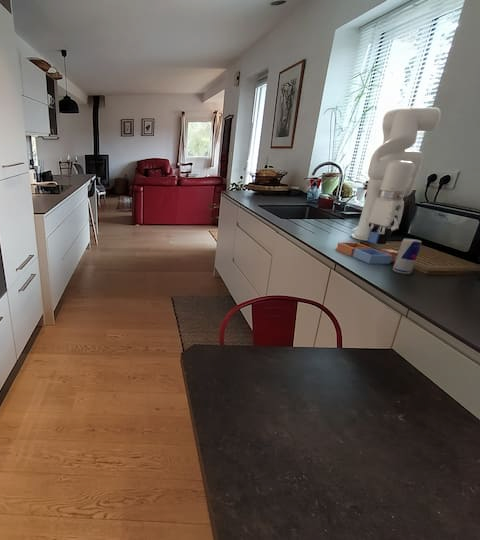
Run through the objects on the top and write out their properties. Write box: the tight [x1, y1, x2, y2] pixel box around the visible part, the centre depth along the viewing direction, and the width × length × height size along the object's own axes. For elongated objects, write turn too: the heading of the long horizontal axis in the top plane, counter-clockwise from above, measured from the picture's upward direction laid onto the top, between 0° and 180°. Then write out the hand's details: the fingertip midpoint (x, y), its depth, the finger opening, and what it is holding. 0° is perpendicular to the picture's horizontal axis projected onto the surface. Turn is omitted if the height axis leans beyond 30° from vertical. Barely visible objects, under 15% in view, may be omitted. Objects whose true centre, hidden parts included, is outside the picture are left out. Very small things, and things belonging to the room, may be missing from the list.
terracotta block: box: [381, 248, 399, 263], centre depth 132 cm, size 4×4×4 cm
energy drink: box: [392, 237, 423, 275], centre depth 117 cm, size 5×5×12 cm
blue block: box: [367, 231, 382, 245], centre depth 128 cm, size 4×4×4 cm
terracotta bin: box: [336, 241, 374, 257], centre depth 141 cm, size 9×9×3 cm
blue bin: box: [352, 248, 393, 265], centre depth 131 cm, size 9×9×3 cm
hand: (376, 241), depth 129 cm, fingers closed on blue block, 4 cm apart
